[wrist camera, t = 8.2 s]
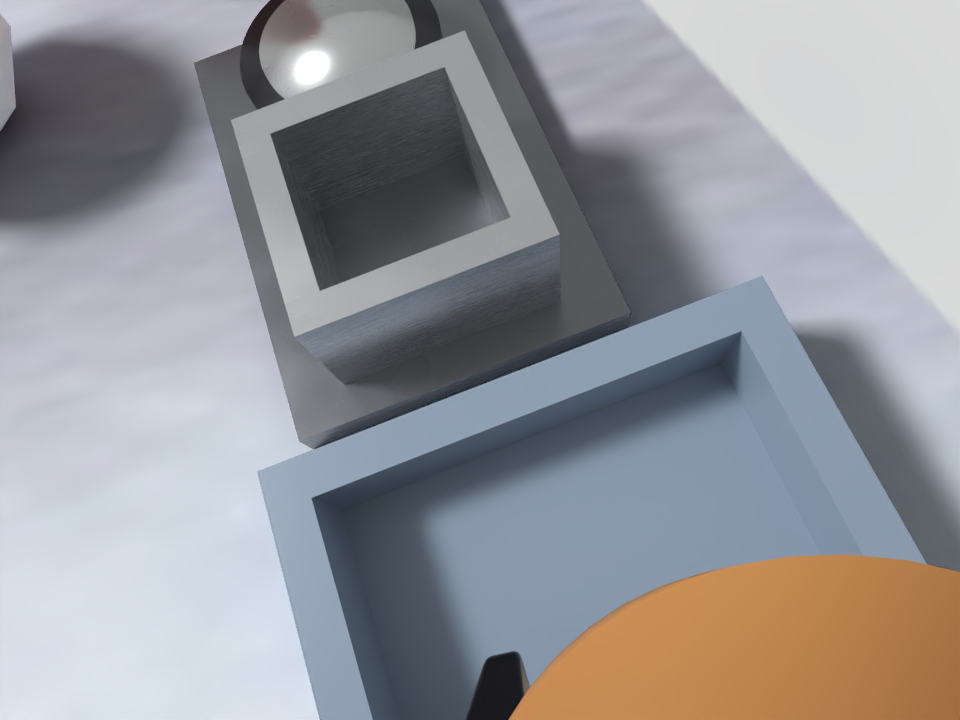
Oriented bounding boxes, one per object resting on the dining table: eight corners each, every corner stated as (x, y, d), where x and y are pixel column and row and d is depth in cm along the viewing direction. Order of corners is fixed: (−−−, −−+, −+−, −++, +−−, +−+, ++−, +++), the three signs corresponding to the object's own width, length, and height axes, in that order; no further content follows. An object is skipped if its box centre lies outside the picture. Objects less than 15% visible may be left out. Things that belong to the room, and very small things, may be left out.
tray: (1065, 942, 14) (1194, 1032, 11) (491, 1170, 14) (471, 1319, 11) (732, 325, 18) (762, 276, 16) (304, 491, 18) (257, 471, 16)
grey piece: (628, 326, 19) (645, 247, 15) (312, 448, 19) (238, 405, 14) (464, -14, 23) (442, -150, 19) (208, 84, 23) (128, -31, 19)
